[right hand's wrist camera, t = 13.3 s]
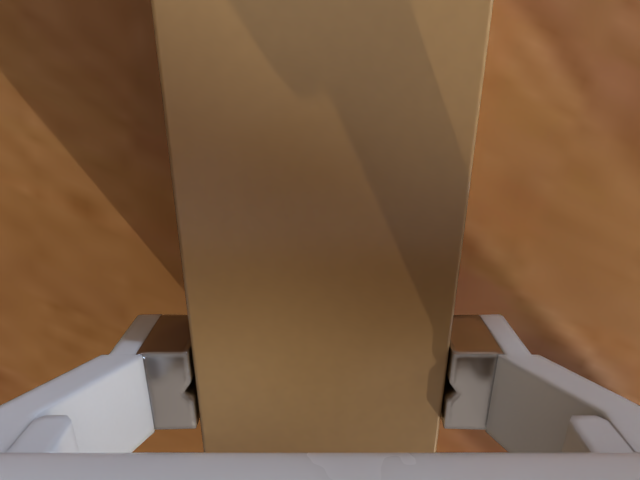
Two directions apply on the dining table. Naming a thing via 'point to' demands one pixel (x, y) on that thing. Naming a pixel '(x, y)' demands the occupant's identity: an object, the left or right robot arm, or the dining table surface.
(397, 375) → the beam
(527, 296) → the dining table surface
